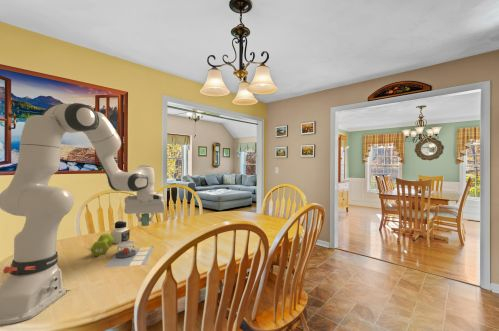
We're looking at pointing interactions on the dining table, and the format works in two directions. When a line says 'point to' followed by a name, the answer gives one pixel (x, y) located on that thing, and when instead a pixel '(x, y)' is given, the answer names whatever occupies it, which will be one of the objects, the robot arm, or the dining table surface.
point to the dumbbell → (102, 244)
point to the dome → (125, 245)
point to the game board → (131, 257)
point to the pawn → (145, 219)
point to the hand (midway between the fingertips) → (145, 221)
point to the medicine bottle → (120, 232)
